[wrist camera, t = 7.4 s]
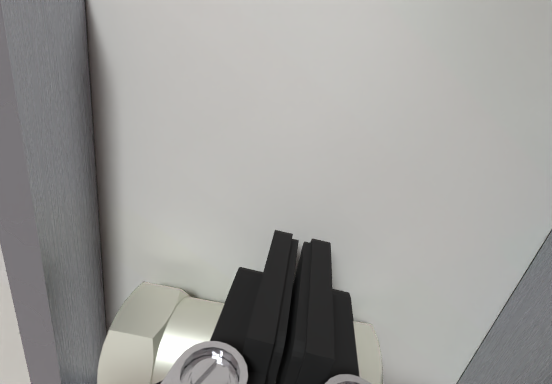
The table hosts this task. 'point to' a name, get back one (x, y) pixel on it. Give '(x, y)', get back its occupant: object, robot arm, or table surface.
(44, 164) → the pipe jig
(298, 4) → the table surface
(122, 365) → the pipe fitting
